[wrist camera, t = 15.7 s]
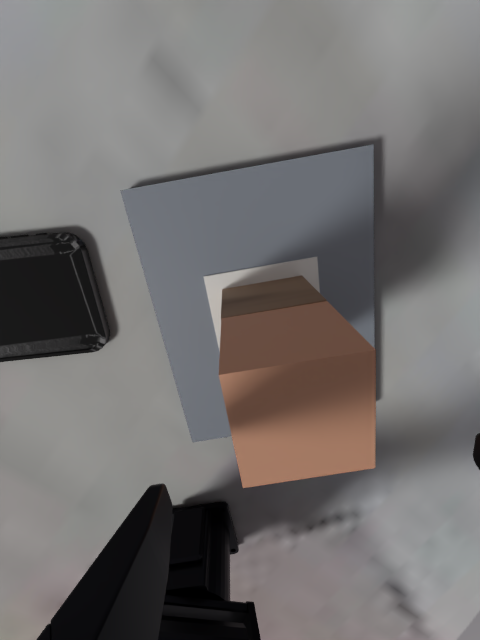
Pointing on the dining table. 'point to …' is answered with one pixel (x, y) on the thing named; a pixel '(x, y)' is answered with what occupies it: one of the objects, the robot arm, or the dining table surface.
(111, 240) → the dining table surface
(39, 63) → the dining table surface
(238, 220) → the board
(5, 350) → the phone
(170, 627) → the robot arm
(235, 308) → the walnut cube
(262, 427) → the terracotta cube
